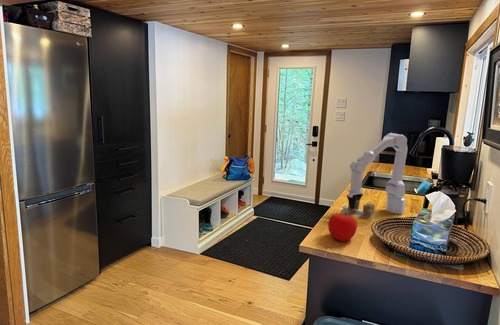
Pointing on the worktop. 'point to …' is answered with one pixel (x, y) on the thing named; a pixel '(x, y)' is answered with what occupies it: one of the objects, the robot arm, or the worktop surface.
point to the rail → (358, 212)
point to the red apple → (342, 226)
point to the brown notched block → (354, 208)
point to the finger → (368, 210)
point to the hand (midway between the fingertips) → (353, 207)
